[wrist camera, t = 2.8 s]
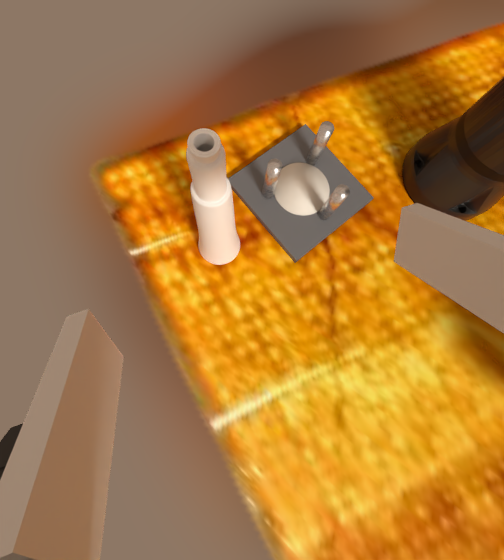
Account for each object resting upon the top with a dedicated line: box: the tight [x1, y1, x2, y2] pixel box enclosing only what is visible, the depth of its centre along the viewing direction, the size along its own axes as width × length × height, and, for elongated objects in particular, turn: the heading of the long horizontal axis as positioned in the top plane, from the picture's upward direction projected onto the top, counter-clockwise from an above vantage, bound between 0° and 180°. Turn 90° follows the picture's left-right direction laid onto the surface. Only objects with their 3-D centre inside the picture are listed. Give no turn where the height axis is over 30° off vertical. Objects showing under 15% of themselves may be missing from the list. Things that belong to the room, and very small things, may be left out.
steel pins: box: [262, 121, 350, 220], centre depth 38 cm, size 11×10×7 cm
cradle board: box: [228, 124, 373, 262], centre depth 41 cm, size 16×16×1 cm
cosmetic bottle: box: [186, 128, 240, 265], centre depth 29 cm, size 6×6×22 cm
